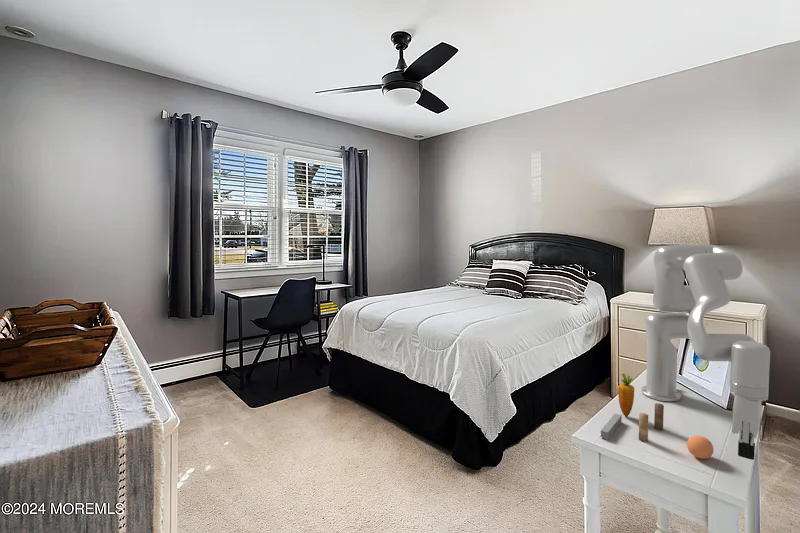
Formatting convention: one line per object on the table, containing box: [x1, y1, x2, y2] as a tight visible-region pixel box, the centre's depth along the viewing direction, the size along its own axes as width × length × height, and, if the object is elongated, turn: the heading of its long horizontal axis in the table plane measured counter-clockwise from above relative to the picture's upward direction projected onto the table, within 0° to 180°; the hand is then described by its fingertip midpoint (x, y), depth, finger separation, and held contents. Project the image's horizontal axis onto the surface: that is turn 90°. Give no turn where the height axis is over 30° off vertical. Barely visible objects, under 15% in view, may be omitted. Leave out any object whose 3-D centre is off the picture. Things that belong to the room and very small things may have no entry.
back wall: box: [600, 413, 623, 441], centre depth 129 cm, size 14×2×2 cm, turn 135°
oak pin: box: [638, 412, 649, 443], centre depth 122 cm, size 2×2×8 cm
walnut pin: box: [653, 402, 665, 432], centre depth 128 cm, size 2×2×8 cm
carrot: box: [617, 372, 635, 418], centre depth 136 cm, size 5×5×15 cm
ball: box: [686, 434, 715, 460], centre depth 112 cm, size 6×6×6 cm
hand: (746, 456), depth 105 cm, fingers closed
